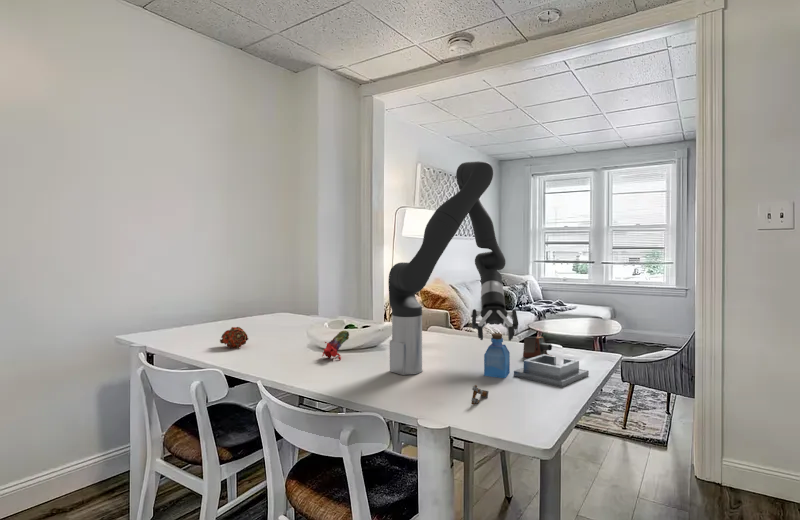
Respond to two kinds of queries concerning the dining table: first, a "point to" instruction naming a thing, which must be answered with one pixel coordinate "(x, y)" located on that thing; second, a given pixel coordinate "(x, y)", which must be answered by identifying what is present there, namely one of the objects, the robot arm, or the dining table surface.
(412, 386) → the dining table surface
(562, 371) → the grey square frame
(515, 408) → the dining table surface
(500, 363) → the perfume bottle
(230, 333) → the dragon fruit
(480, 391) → the wooden post with brackets
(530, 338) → the electronic device
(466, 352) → the dining table surface
